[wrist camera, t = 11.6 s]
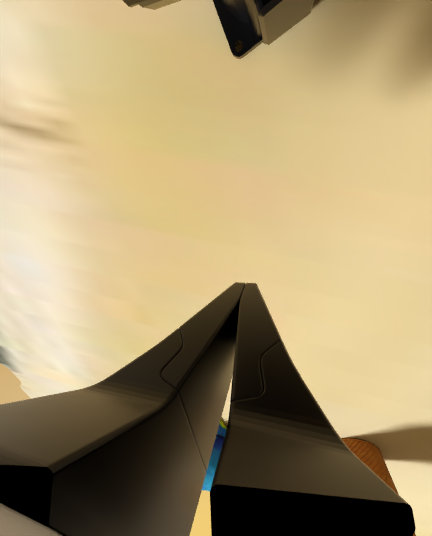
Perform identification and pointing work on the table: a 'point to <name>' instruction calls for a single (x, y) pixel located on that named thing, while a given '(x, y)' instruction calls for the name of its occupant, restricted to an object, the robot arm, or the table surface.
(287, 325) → the table surface
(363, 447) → the disposable coffee cup
